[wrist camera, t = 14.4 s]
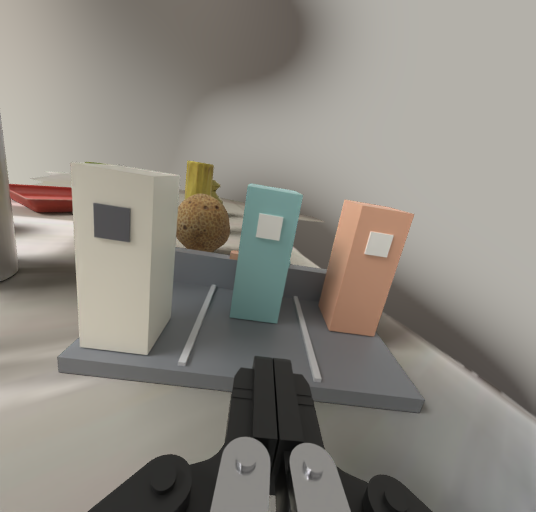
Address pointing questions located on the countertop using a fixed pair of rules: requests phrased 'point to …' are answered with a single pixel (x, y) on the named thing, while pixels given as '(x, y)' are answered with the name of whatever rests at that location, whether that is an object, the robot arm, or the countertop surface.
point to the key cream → (123, 254)
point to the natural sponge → (202, 223)
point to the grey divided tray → (253, 341)
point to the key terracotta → (362, 266)
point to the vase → (198, 179)
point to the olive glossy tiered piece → (214, 188)
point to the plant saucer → (43, 197)
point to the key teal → (264, 252)
